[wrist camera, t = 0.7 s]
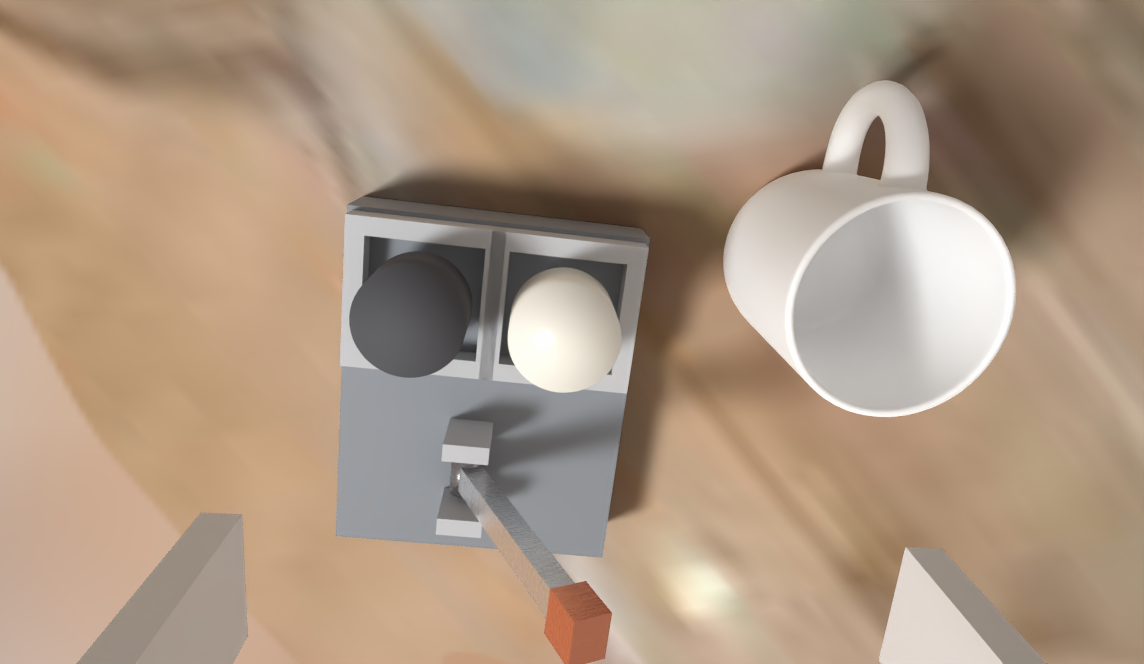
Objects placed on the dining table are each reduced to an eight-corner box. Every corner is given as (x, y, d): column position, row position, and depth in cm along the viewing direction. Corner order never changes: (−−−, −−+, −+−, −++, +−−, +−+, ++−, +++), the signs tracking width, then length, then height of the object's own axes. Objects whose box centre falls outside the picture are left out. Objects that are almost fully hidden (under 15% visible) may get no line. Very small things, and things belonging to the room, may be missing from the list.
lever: (447, 449, 35) (574, 620, 24) (476, 445, 35) (612, 611, 25) (444, 486, 35) (567, 669, 25) (473, 482, 36) (604, 659, 25)
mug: (748, 73, 34) (834, 61, 24) (924, 94, 35) (1079, 90, 25) (706, 328, 37) (766, 408, 28) (867, 342, 38) (983, 426, 28)
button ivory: (515, 261, 31) (513, 277, 28) (620, 273, 32) (629, 290, 29) (505, 362, 32) (502, 387, 30) (606, 371, 33) (613, 397, 30)
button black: (368, 245, 31) (351, 260, 28) (476, 257, 31) (470, 273, 28) (364, 347, 32) (347, 372, 29) (468, 358, 32) (461, 382, 29)
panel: (363, 196, 35) (330, 214, 29) (641, 228, 36) (660, 251, 30) (350, 504, 39) (319, 570, 34) (597, 525, 40) (606, 592, 35)
